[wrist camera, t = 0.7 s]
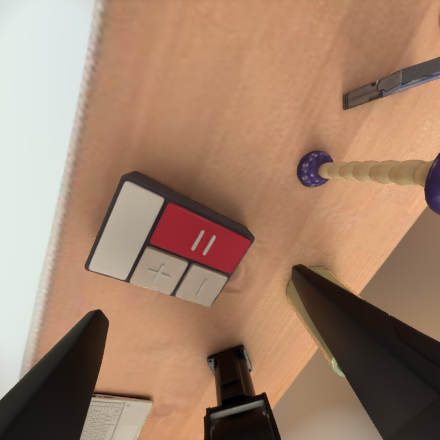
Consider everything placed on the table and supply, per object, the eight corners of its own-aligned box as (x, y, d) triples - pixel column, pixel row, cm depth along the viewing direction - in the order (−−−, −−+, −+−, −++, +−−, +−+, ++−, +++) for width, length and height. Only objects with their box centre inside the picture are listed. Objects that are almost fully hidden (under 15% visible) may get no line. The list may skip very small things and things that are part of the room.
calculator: (211, 313, 22) (78, 274, 18) (207, 288, 26) (98, 252, 22) (259, 240, 20) (119, 173, 15) (247, 226, 24) (133, 169, 19)
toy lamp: (303, 143, 21) (630, 97, 5) (338, 148, 22) (720, 119, 6) (293, 185, 22) (526, 247, 7) (327, 188, 23) (608, 250, 7)
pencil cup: (334, 298, 29) (400, 363, 20) (290, 313, 29) (335, 386, 20) (331, 259, 27) (404, 313, 17) (282, 276, 27) (329, 340, 17)
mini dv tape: (343, 110, 20) (400, 91, 15) (342, 95, 20) (401, 69, 14) (410, 87, 20) (492, 60, 15) (411, 72, 20) (496, 38, 14)
